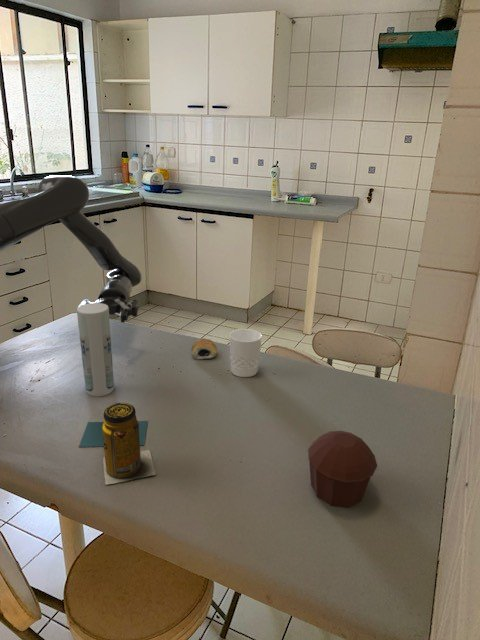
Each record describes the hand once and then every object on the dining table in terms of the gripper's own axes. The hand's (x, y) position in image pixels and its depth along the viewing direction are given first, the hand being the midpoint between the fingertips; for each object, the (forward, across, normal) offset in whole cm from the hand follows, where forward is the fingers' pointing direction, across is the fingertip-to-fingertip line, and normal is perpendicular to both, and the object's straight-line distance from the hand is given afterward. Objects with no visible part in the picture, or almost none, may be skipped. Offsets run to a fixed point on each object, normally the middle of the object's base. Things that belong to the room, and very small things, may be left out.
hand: (104, 319), depth 111 cm
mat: (+28, +6, +13) cm, 31 cm away
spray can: (+10, 0, +13) cm, 17 cm away
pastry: (-7, +24, +13) cm, 28 cm away
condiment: (+38, +10, +13) cm, 41 cm away
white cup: (+3, +34, +13) cm, 37 cm away
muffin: (+45, +46, +13) cm, 65 cm away
